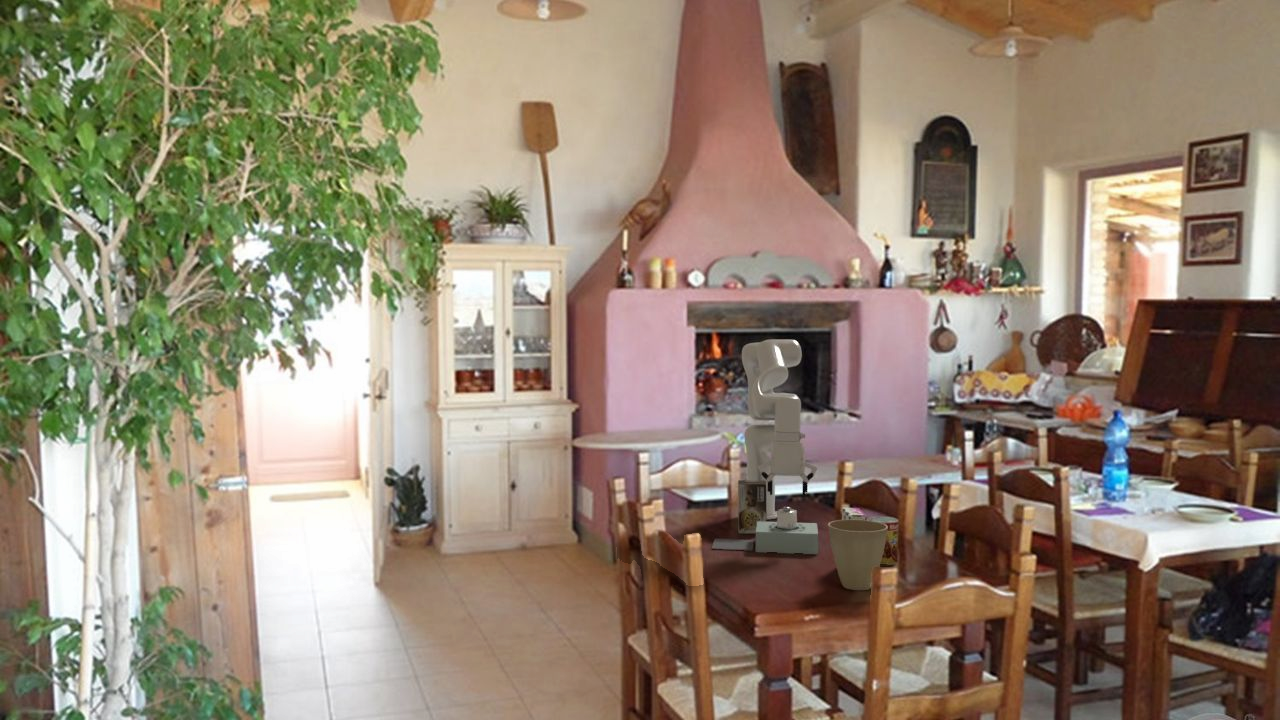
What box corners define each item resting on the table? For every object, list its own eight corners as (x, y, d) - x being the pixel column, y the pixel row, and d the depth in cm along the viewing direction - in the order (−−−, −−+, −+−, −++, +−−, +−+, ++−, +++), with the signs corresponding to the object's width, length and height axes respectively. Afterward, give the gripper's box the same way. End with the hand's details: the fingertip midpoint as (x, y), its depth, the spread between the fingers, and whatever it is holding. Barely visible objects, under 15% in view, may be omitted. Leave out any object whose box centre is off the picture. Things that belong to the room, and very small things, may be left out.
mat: (714, 539, 294) (714, 538, 294) (753, 541, 292) (753, 540, 292) (711, 549, 282) (711, 548, 282) (752, 551, 281) (752, 549, 280)
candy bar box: (866, 576, 254) (867, 515, 253) (847, 576, 254) (848, 515, 253) (858, 565, 265) (859, 506, 264) (840, 565, 265) (840, 506, 264)
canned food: (898, 565, 264) (899, 522, 264) (869, 564, 266) (870, 521, 265) (896, 558, 272) (897, 516, 271) (868, 557, 273) (868, 515, 273)
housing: (757, 540, 293) (757, 521, 293) (816, 542, 290) (816, 523, 290) (755, 552, 279) (755, 531, 279) (818, 554, 277) (818, 533, 276)
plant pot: (899, 588, 243) (900, 526, 242) (859, 598, 234) (860, 534, 233) (854, 575, 255) (855, 516, 254) (815, 584, 246) (815, 523, 246)
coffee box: (766, 529, 308) (766, 480, 307) (766, 534, 302) (767, 483, 301) (737, 528, 309) (738, 479, 308) (738, 533, 303) (738, 483, 302)
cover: (777, 538, 288) (777, 505, 288) (796, 538, 287) (796, 505, 287) (776, 542, 282) (777, 509, 282) (796, 543, 281) (796, 509, 281)
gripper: (816, 436, 285) (816, 493, 286) (758, 435, 288) (758, 491, 289) (817, 439, 278) (817, 497, 278) (757, 438, 281) (757, 496, 281)
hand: (787, 494), depth 284 cm, fingers open, 9 cm apart
